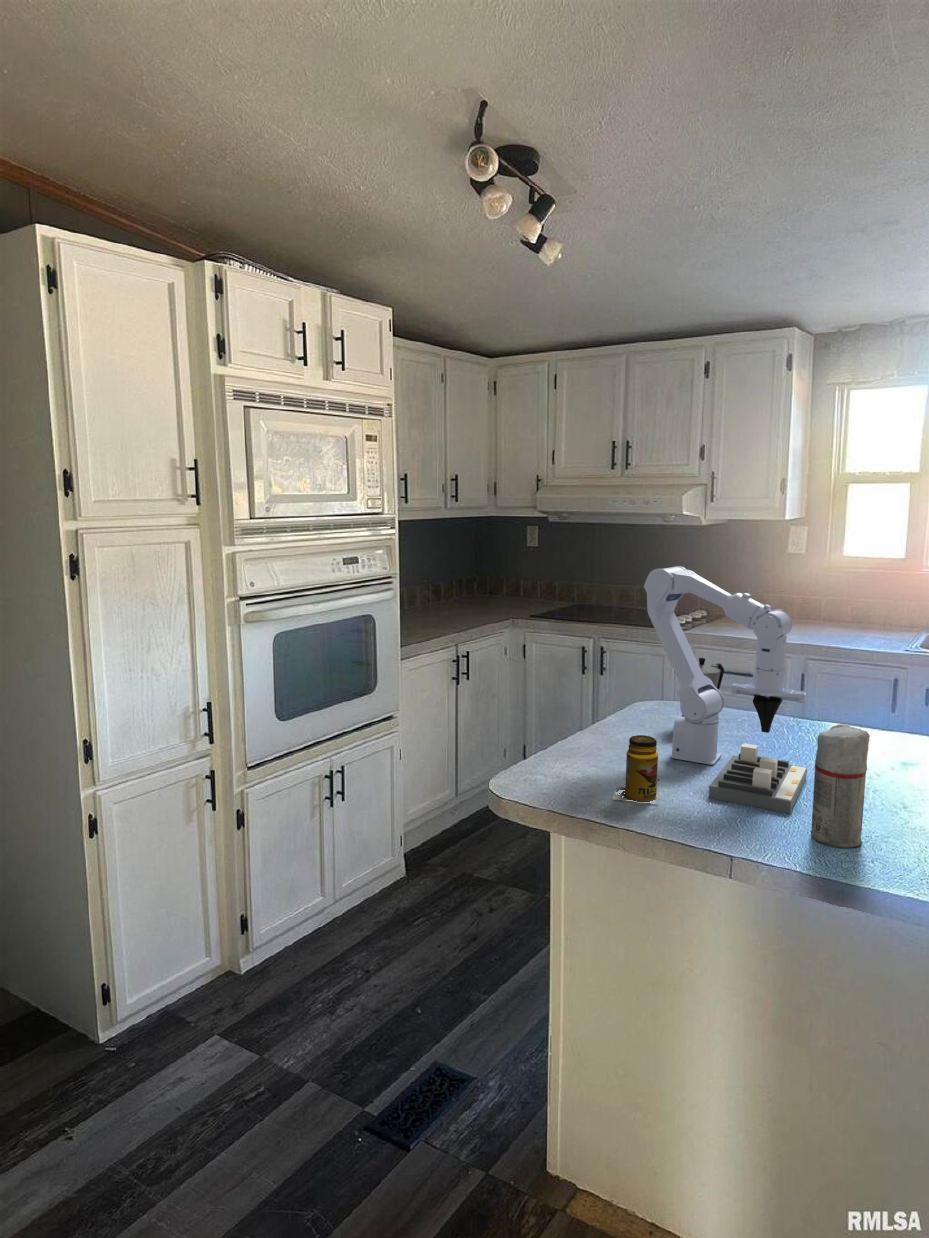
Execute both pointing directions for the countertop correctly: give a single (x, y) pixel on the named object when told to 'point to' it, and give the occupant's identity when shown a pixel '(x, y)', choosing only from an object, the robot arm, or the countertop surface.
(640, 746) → the condiment
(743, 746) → the tab back
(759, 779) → the tab front
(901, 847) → the countertop surface
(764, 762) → the tab middle
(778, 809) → the switch panel
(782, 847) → the countertop surface
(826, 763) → the spray can
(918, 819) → the countertop surface
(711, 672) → the coffeepot
